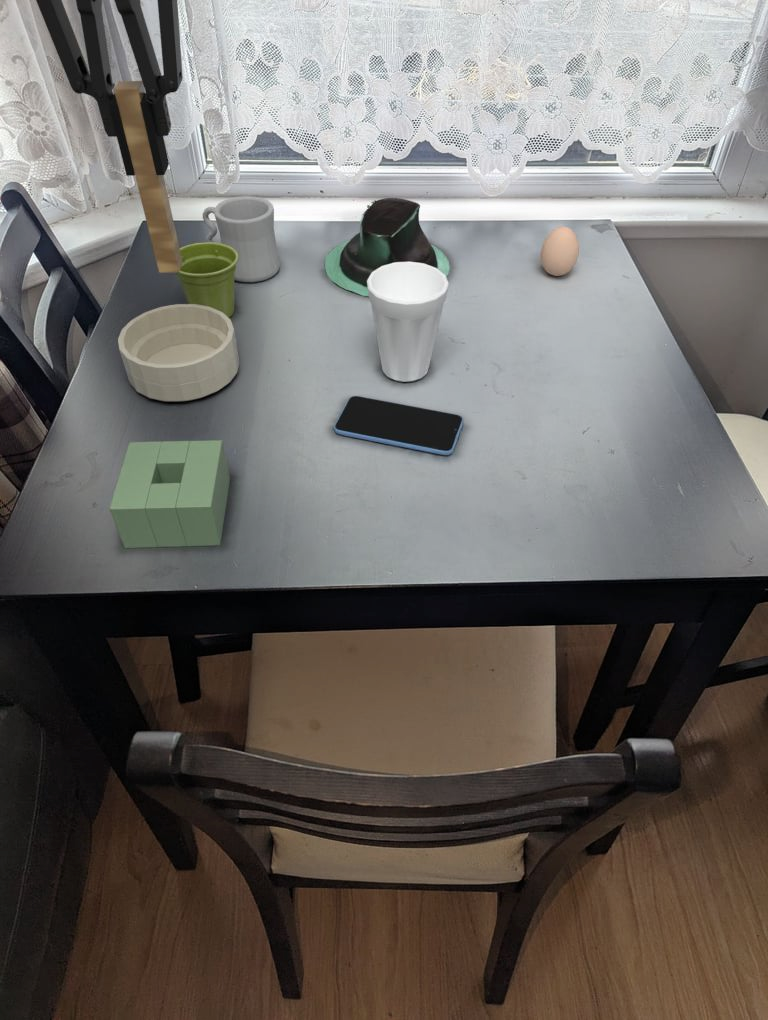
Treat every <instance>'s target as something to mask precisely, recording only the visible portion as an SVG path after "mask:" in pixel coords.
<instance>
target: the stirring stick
mask: <svg viewBox="0 0 768 1020" xmlns="http://www.w3.org/2000/svg"><path fill="white" fill-rule="evenodd" d="M114 93H115V97H116V101H117V104H118V108H119V112H120V116H121V120H122V125H123V129H124V133H125V137H126V141H127V145H128V149H129V153H130V157H131V161H132V165H133V169H134V173H135V175H134V177H135V181H136V185H137V189H138V193H139V197H140V202H141V205H142V209H143V213H144V217H145V221H146V225H147V229H148V234H149V238H150V241H151V245H152V249H153V253H154V258H155V262H156V265H157V270H158V273H159V274H166V273H167V274H169V273H172V274H173V273H175V272H180V269H181V266H182V263H183V262H182V257H181V253H180V248H181V247H180V243H179V240H178V236H177V235H178V234H177V230H176V226H175V222H174V217H173V213H172V208H171V204H170V199H169V194H168V190H167V184H166V180H165V177H164V176H165V175H156V171H155V166H154V162H153V157H152V153H151V149H150V144H149V140H148V135H147V131H146V127H145V122H144V118H143V114H142V109H141V105H140V102H141V100H142V99H143V97H144V95H145V93H146V91H145V88H144V85H143V82H142V80H126V81H125V80H120V81H118V82H117V84H115V86H114V88H113V94H114ZM175 274H176V273H175Z"/></svg>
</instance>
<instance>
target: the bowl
mask: <svg viewBox="0 0 768 1020" xmlns="http://www.w3.org/2000/svg"><path fill="white" fill-rule="evenodd" d="M117 343H118V350H119V353H120V356H121V360H122V362H123V366H124V369H125V373H126V376H127V379H128V382H129V384H130V385H131V387H133V388H134V390H135V391H136V392H137V393H139V394H141V395H143V396H145V397H147V398H148V399H152V400H157V401H161V402H187V401H193V400H198V399H201V398H204V397H207V396H209V395H212V394H214V393H217V392H219V391H220V390H221V389H223V388H224V387H225V386H227V385H228V384H229V383H231V382H232V380H233V379H234V378H235V377H236V375H237V374H238V371H239V368H240V367H239V366H240V357H239V351H238V343H237V338H236V332H235V327H234V325H233V322H232V319H231V318H228V317H227V316H226V315H225V314H224V313H223V312H221V311H218V310H216V309H214V308H211V307H208V306H203V305H197V304H188V303H182V304H181V303H176V304H170V305H164V306H159V307H157V308H154V309H153V308H152V309H150V310H147V311H145V312H143V313H141V314H139V315H137V316H136V317H133V319H131V320H130V321H129V322H128V323H127V324H125V326H124V327H123V328H121V331H120V333H119V336H118V338H117Z"/></svg>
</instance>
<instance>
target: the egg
mask: <svg viewBox="0 0 768 1020" xmlns="http://www.w3.org/2000/svg"><path fill="white" fill-rule="evenodd" d="M579 254H580V245H579V241H578V236H577V235H576V233H575V232H574V230H572V229H571V228H570V227H568V226H559V227H556V228H554V229H553V230H552V231H550V232H549V234H548V235H547V236H546V238H545V239H544V241H543V243H542V246H541V250H540V262H541V265H542V267H543V269H544V270H545V271H546V272H547V273H548V274H549V275H552V276H555V277H558V276H559V277H560V276H564V275H565V274H567V273H569V272H570V271H571V270H572V269H573V268H574V267H575V265H576V264H577V262H578V258H579Z"/></svg>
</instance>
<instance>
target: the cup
mask: <svg viewBox="0 0 768 1020" xmlns="http://www.w3.org/2000/svg"><path fill="white" fill-rule="evenodd" d="M367 286H368V294H369V296H368V298H369V302H370V305H371V311H372V317H373V323H374V329H375V334H376V341H377V347H378V351H379V352H378V353H379V358H380V363H381V369H382V373H383V374H384V375H385V376H386V377H387V378H390V379H392V380H394V381H397V382H403V383H404V382H415V381H417V380H421V379H422V378H424V377H425V376H426V375H427V374H428V371H429V368H430V366H431V365H430V364H431V360H432V356H433V352H434V347H435V344H436V339H437V334H438V330H439V326H440V322H441V317H442V313H443V309H444V305H445V302H446V300H447V296H448V292H449V291H448V290H449V287H450V283H449V281H448V278H447V277H446V276H445V275H444V274H443V273H442V272H441V271H439V270H438V269H437V268H435V267H432V266H429V265H427V264H424V263H416V262H395V263H391V264H387V265H384V266H381V267H380V268H378V269H376V270H375V271H373V272H372V273H371V274H370V276H369V278H368V280H367Z"/></svg>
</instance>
